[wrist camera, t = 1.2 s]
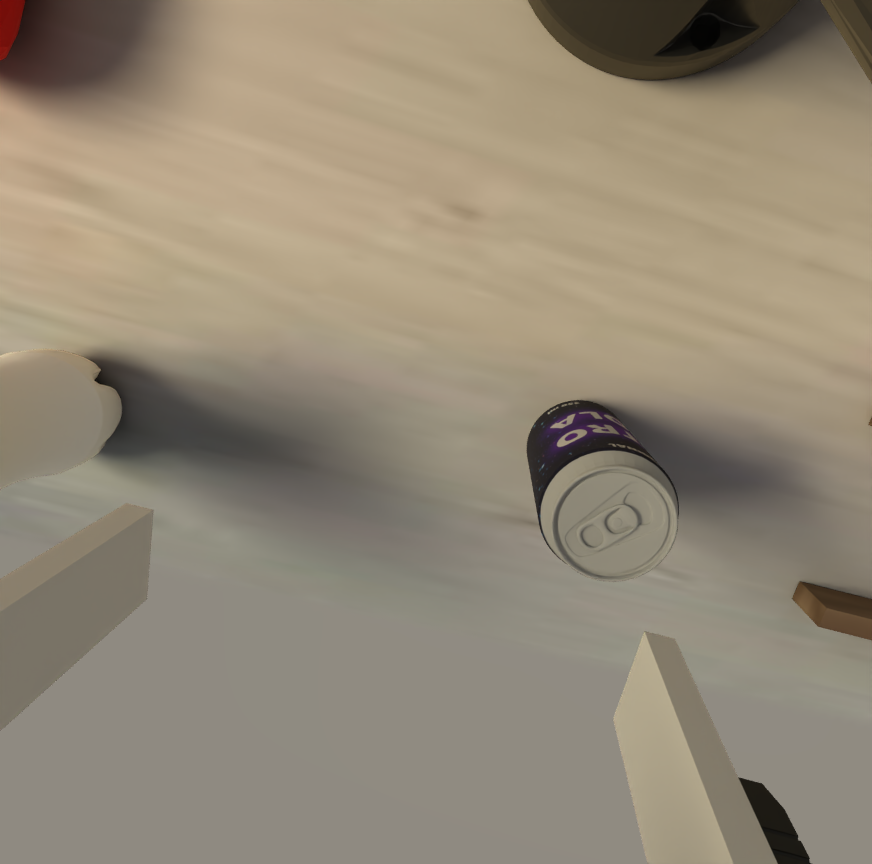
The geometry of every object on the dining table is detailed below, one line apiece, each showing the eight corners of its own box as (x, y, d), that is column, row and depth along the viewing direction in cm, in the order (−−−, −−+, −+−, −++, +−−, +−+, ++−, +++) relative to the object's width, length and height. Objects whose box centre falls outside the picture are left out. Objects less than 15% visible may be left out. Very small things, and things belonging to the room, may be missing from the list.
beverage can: (642, 458, 34) (716, 547, 23) (558, 506, 35) (588, 614, 24) (591, 378, 33) (641, 428, 22) (507, 430, 35) (513, 504, 23)
